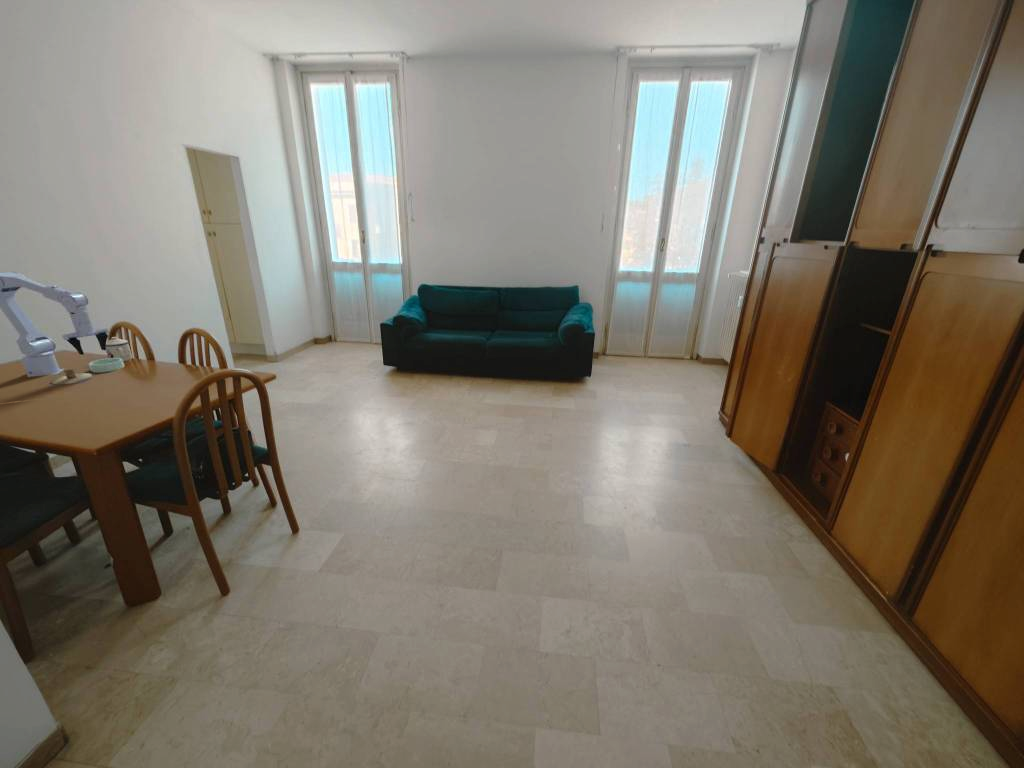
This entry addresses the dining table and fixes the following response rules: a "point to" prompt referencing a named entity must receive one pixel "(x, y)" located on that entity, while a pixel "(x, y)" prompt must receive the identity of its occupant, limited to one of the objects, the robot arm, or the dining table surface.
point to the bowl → (106, 365)
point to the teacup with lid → (118, 349)
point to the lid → (71, 377)
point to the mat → (72, 383)
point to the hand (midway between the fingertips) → (92, 352)
